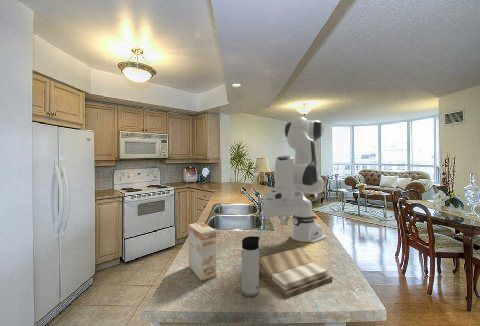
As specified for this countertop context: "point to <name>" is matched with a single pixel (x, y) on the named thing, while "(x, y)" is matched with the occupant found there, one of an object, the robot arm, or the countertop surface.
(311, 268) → the pale ash plank
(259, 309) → the countertop surface
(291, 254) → the honey oak plank
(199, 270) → the coffeecake box
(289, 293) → the walnut board
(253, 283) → the travel mug
